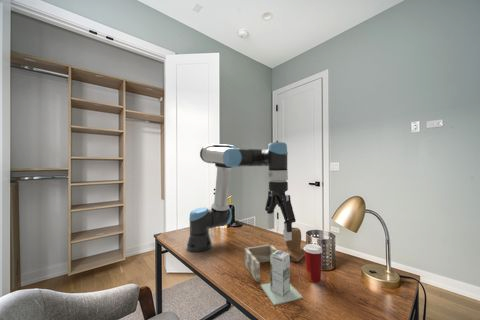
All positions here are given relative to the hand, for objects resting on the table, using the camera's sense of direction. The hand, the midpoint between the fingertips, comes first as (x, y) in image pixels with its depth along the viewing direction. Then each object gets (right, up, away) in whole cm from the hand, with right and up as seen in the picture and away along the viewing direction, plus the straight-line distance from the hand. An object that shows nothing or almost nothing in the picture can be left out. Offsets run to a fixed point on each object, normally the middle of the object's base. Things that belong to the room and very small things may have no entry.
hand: (278, 234), depth 79 cm
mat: (0, -23, -1) cm, 23 cm away
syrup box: (0, -22, -1) cm, 22 cm away
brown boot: (+14, -24, +30) cm, 40 cm away
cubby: (-4, -23, +16) cm, 28 cm away
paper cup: (+17, -23, +7) cm, 29 cm away
